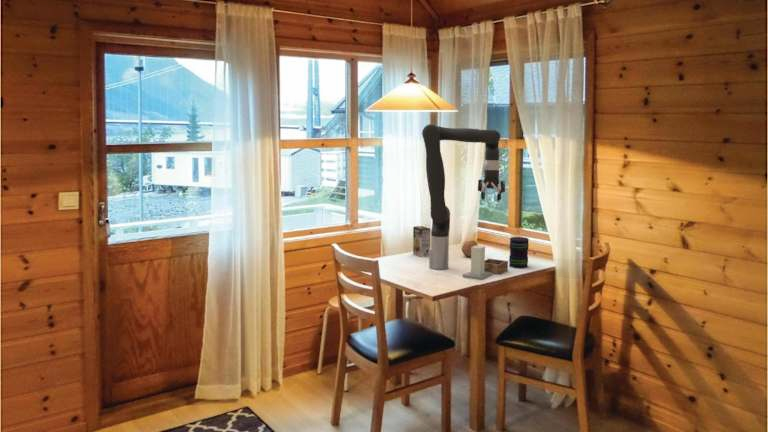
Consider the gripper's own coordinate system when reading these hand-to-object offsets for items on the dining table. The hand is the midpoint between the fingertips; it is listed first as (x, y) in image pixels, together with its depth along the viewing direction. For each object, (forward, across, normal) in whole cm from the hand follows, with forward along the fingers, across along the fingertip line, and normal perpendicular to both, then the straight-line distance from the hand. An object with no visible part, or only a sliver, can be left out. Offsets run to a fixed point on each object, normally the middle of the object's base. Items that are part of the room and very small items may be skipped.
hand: (490, 200), depth 342 cm
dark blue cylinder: (+36, +11, +13) cm, 40 cm away
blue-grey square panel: (+36, +2, -19) cm, 41 cm away
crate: (+36, +5, -5) cm, 37 cm away
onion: (+36, -21, +20) cm, 46 cm away
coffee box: (+36, -46, +8) cm, 59 cm away
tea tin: (+35, +2, -19) cm, 40 cm away
